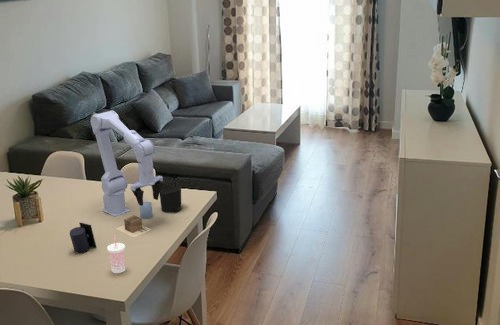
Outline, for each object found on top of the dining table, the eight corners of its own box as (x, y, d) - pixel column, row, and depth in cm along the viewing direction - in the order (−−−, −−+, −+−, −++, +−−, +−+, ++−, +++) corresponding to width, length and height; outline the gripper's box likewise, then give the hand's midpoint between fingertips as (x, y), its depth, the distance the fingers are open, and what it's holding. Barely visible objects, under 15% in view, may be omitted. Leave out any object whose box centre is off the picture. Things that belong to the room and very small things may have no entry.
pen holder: (164, 215, 236) (162, 193, 232) (158, 207, 244) (156, 186, 240) (185, 211, 239) (183, 190, 236) (178, 203, 247) (177, 182, 244)
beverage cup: (126, 273, 190) (122, 237, 185) (108, 274, 190) (104, 238, 185) (128, 264, 196) (124, 229, 191) (111, 265, 195) (107, 230, 191)
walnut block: (124, 229, 223) (123, 219, 221) (135, 225, 226) (134, 215, 225) (132, 232, 219) (131, 222, 218) (142, 228, 223) (141, 218, 221)
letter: (115, 229, 224) (115, 228, 224) (134, 221, 230) (133, 221, 230) (133, 237, 216) (133, 237, 216) (151, 230, 222) (151, 229, 222)
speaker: (89, 242, 212) (84, 219, 208) (96, 248, 208) (92, 224, 204) (71, 250, 208) (65, 227, 203) (78, 256, 204) (73, 232, 199)
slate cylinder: (138, 217, 234) (137, 204, 232) (147, 213, 238) (146, 200, 236) (145, 220, 231) (144, 207, 229) (154, 216, 234) (153, 203, 233)
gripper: (137, 177, 211) (139, 210, 216) (166, 168, 221) (168, 199, 226) (126, 173, 216) (129, 205, 220) (155, 164, 226) (157, 194, 231)
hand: (148, 202), depth 224 cm, fingers open, 7 cm apart
